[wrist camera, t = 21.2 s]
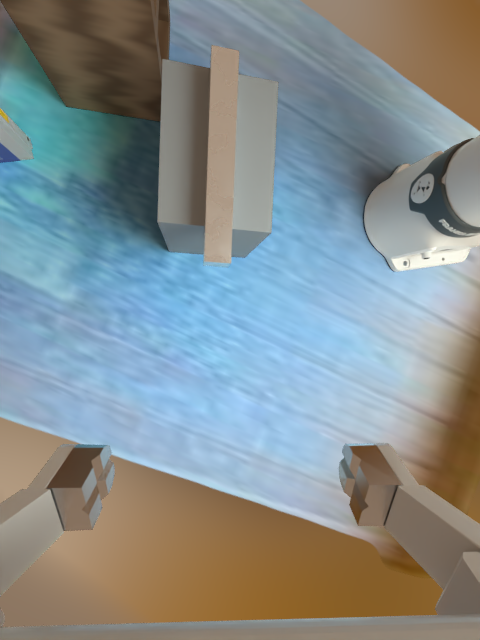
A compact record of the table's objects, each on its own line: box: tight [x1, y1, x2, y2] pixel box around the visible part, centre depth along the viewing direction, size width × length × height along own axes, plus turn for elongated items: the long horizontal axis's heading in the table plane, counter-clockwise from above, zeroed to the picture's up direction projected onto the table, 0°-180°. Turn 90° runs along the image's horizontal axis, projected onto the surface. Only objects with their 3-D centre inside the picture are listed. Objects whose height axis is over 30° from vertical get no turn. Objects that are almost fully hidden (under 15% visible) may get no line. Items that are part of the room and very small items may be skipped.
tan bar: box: [203, 45, 239, 267], centre depth 27 cm, size 3×20×3 cm, turn 178°
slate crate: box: [157, 59, 278, 258], centre depth 36 cm, size 12×16×15 cm
